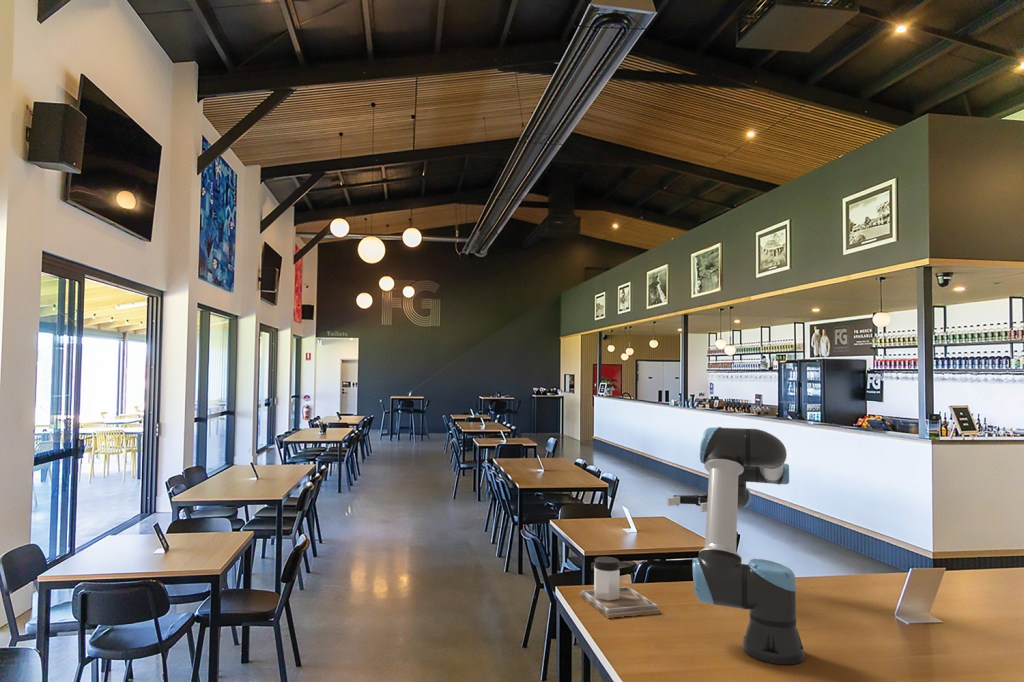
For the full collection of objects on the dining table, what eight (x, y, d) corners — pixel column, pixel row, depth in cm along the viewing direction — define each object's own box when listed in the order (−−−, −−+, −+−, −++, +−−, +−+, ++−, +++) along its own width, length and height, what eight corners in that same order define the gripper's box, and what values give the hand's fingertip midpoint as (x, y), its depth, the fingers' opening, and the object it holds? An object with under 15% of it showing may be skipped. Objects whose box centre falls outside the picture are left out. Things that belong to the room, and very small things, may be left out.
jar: (603, 602, 200) (603, 564, 201) (588, 594, 207) (588, 558, 208) (625, 598, 204) (625, 561, 205) (609, 591, 211) (609, 555, 212)
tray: (660, 613, 194) (660, 606, 194) (608, 618, 189) (608, 611, 189) (626, 591, 215) (626, 585, 215) (579, 595, 209) (579, 589, 210)
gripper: (752, 516, 212) (716, 522, 199) (690, 505, 231) (654, 510, 218) (752, 494, 212) (716, 498, 199) (690, 485, 232) (654, 488, 219)
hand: (684, 504), depth 209 cm, fingers open, 13 cm apart
